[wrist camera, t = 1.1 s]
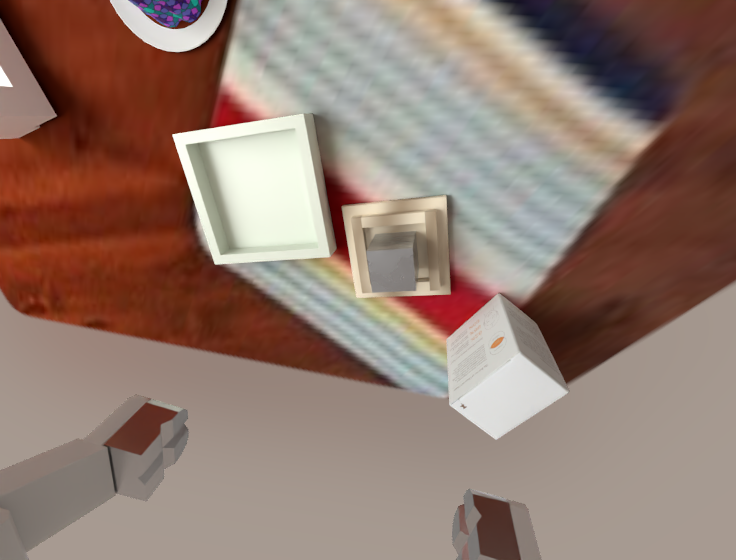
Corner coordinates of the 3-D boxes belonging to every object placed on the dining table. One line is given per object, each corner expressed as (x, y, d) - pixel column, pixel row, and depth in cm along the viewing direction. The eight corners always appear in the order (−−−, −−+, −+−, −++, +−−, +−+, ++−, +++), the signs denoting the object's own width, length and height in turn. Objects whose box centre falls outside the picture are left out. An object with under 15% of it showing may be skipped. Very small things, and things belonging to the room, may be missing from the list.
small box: (481, 366, 40) (495, 443, 31) (444, 337, 39) (446, 407, 30) (538, 322, 37) (573, 394, 27) (499, 290, 36) (520, 351, 27)
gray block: (415, 230, 34) (412, 248, 30) (419, 268, 36) (416, 290, 31) (375, 234, 35) (366, 251, 30) (380, 271, 37) (372, 292, 32)
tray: (312, 113, 32) (303, 113, 30) (336, 248, 37) (330, 257, 35) (189, 133, 35) (172, 134, 33) (227, 256, 40) (214, 264, 38)
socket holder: (446, 195, 33) (446, 199, 31) (450, 290, 37) (450, 298, 35) (343, 204, 35) (338, 209, 33) (357, 294, 39) (354, 302, 37)
